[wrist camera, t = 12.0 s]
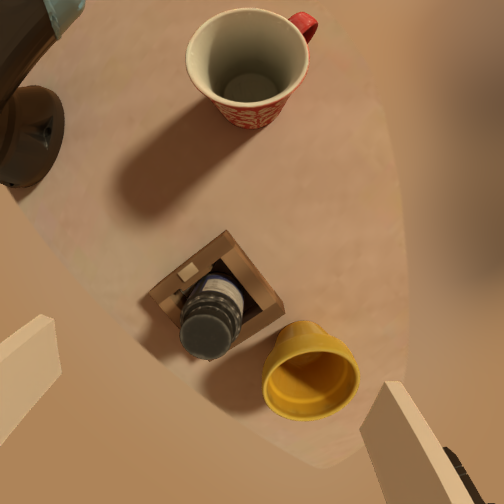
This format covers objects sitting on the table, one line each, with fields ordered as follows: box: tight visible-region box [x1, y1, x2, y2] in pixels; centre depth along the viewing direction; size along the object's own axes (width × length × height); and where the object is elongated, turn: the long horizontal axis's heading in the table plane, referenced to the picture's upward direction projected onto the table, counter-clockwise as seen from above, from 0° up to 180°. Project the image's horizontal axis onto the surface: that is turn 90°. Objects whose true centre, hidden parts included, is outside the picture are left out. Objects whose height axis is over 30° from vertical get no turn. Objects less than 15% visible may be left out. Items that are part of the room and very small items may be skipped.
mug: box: [185, 8, 318, 129], centre depth 24 cm, size 13×9×14 cm
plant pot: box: [262, 321, 360, 421], centre depth 32 cm, size 10×10×10 cm
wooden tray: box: [149, 230, 285, 362], centre depth 34 cm, size 11×11×4 cm
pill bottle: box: [180, 272, 244, 360], centre depth 30 cm, size 6×6×11 cm
